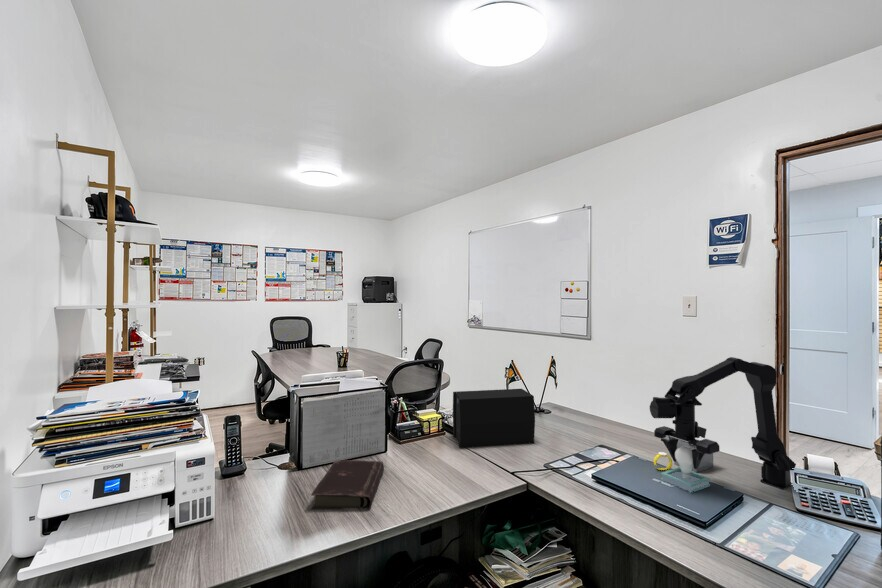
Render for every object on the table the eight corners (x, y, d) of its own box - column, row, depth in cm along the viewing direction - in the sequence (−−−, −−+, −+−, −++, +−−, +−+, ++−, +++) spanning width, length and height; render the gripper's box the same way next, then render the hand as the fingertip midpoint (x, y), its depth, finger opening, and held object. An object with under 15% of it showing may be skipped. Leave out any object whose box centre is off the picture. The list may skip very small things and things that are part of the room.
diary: (384, 474, 144) (384, 460, 144) (371, 512, 119) (371, 495, 119) (332, 473, 144) (332, 459, 144) (308, 511, 119) (308, 494, 119)
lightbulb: (675, 481, 133) (675, 448, 133) (674, 474, 138) (674, 442, 138) (698, 486, 130) (698, 452, 130) (696, 478, 135) (696, 445, 135)
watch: (657, 472, 143) (655, 455, 143) (652, 469, 146) (651, 452, 146) (674, 471, 143) (672, 454, 143) (669, 467, 146) (668, 451, 146)
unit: (713, 467, 146) (713, 442, 146) (696, 472, 142) (696, 447, 142) (690, 458, 154) (690, 435, 154) (673, 464, 149) (673, 439, 149)
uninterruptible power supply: (452, 435, 181) (452, 391, 181) (524, 431, 186) (524, 387, 186) (460, 449, 165) (460, 400, 165) (538, 444, 170) (538, 396, 170)
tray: (710, 486, 132) (709, 478, 132) (691, 493, 127) (691, 485, 127) (680, 474, 141) (680, 466, 141) (661, 480, 136) (661, 472, 136)
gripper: (729, 422, 129) (729, 471, 129) (673, 407, 146) (673, 451, 146) (708, 427, 124) (709, 478, 124) (652, 412, 141) (653, 456, 141)
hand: (685, 465), depth 134 cm, fingers open, 7 cm apart
